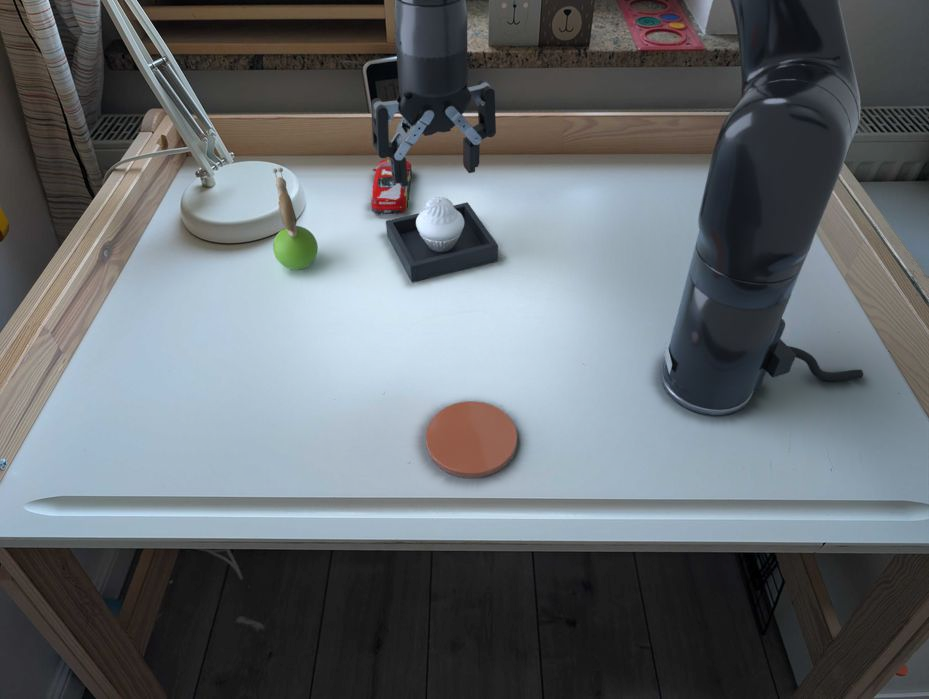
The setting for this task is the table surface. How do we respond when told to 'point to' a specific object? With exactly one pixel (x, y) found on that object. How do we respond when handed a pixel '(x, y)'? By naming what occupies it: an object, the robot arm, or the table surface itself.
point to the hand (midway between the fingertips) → (436, 176)
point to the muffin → (440, 224)
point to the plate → (471, 439)
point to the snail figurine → (292, 234)
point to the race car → (389, 190)
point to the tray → (427, 263)
